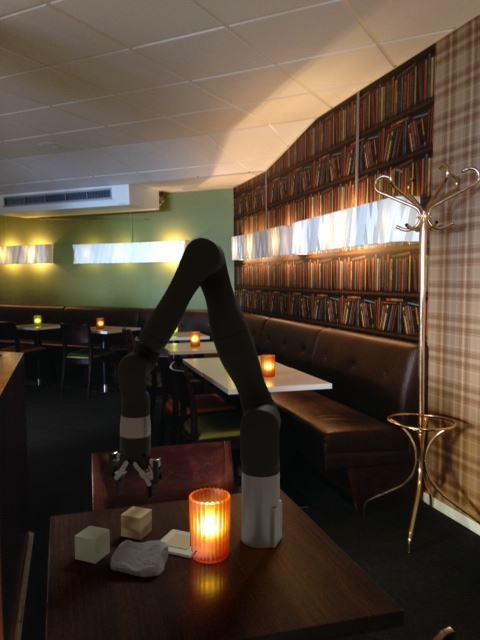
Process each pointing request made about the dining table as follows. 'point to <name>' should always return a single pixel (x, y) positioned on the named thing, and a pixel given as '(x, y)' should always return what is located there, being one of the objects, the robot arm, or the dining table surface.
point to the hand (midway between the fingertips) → (135, 496)
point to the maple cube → (136, 522)
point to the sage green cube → (92, 544)
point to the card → (178, 543)
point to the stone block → (140, 558)
